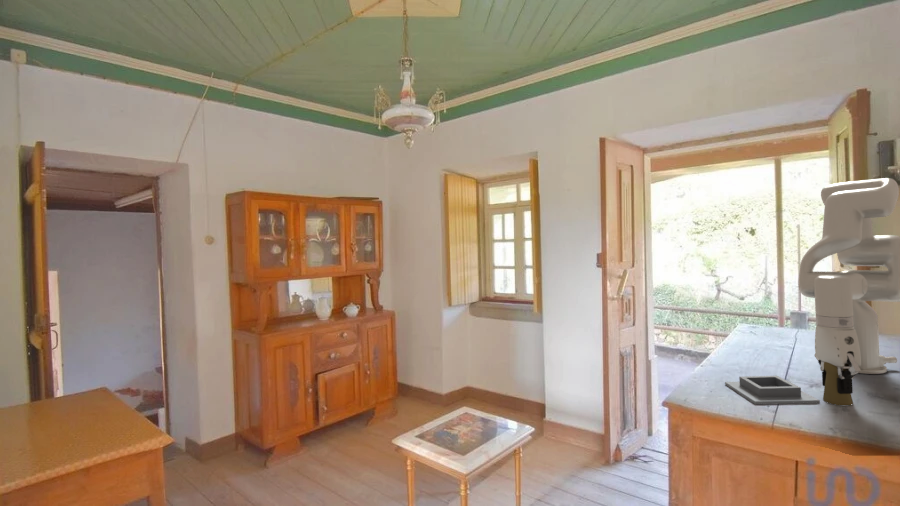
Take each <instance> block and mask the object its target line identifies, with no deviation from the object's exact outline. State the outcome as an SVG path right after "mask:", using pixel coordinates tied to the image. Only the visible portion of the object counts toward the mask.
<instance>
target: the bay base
mask: <svg viewBox="0 0 900 506" xmlns="http://www.w3.org/2000/svg"><path fill="white" fill-rule="evenodd" d="M738 379H739V381H725V382H724V385H725V386H726V387H728V388H730V389H731V390H733V391H734V392H736V393H738V395H740V396H741V397H743V398H745V399H746V400H748V401H749V402H751V403H752V404H753V405H791V404H792V405H794V404H795V405H797V404H798V405H799V404H800V405H801V404H802V405H803V404H804V405H805V404H806V405H807V404H820V403H821V402H820V401H821V400H820V399H818V398H816V397H815V396H812V395H810V394H808V393H807V392H804V391H802V389H801V386H799V385H797V384H794V383H793V382H790V381H789V380H786V379H784V378H782V377H781V376H778V375H751V376H750V375H749V376H747V375H746V376H745V375H744V376H739V378H738Z"/></svg>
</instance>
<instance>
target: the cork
mask: <svg viewBox="0 0 900 506" xmlns="http://www.w3.org/2000/svg"><path fill="white" fill-rule="evenodd" d="M844 365H845V366H846V364H844ZM824 370H825V371H826V380H825V386H823V387H824V388H823V395H822V401H824V402H825V403H827V402H828V403H827V404H830V403H831V405H834V404H836V405H835V406H840V405H850V406H852V405H851V404H853V405H854V402H853V398H852V393H851V394H840V393H838V391H837V378H839V375H838V370H837V366H834V365H832V364H830V363H828V362H824ZM846 370H847V369H843V373H844V372H845V371H846Z"/></svg>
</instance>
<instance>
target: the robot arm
mask: <svg viewBox="0 0 900 506" xmlns="http://www.w3.org/2000/svg"><path fill="white" fill-rule="evenodd" d="M820 191H821V192H820V197H821V200H822V203H823V206H824V211H823V224H822V225H823V226H822V237H821V239H820V240H819V241H818V242H816V243H814V244H813V245H812V246H811V247H810V248H809V249H808V250H807V251H806V252H805V254H804V255H803V257H802V259H801V261H800V265H799V273H798V289H799V292H800V294H802V296H804V297H806V298H809V299H810V298H811V299H812V298H813V299H814V309H815V311H814V312H815V334H814V351H815V352H814V357H815V360H817V363H818V365H819V366H820V371H821V377H822V380H821V381H822V386H823V387H825V380H826V371H825V370H824V362H828V363H830V364H832V365H834V366H837V370H838V375H839V378H837V391H838V393H840V394H851V395H852V394H853V391H854V390H853V379H854V378H855V376H856V375H857V374H864V375H867V374H868V375H869V374H870V375H879V374H885V373H887V371H888V368H887V366H885V365H887V364H897V363H898V358H897V357H895V356H886V355H885V356H884V355H881V354H880V340H879V339H880V338H879V336H880V335H879V333H880V332H879V317H878V316H879V315H878V314H877V313H878V312H877V311H876V310H875V309H874V308H873V307H872V306H871V305H869V303H868V302H893V303H898V302H899V303H900V235H894V234H883V235H881V234H880V235H876V234H875V235H874V233H873V221H872V219H874V218H887V217H889V216H891V215H892V214H893V212H894V210H895V208H896V205H897V202H898V200H899V194H900V189H899V184H898V182H897V181H896V180H895V179H894V178H892V177H891V178H889V177H885V178H884V177H883V178H882V177H881V178H873V179H862V180H852V181H846V182H845V181H844V182H836V183H832V184H829V185H826V186H825V187H823V188H822V189H821V190H820ZM835 254H836V255H837V260H838V262H839V263H840V264H841V265H844V266H851V267H885V268H886V269H887V270H870V269H869V270H868V269H866V270H865V269H863V270H862V269H860V270H859V269H857V270H856V269H849V270H841V271H814V269H815V266H816V265H817V264H818V263H819V262H821V261H822V260H824V259H825V258H827V257H831V256H834V255H835ZM844 364H846V366H845V365H844ZM843 369H847V370H846V371H845V372H844V373H843Z"/></svg>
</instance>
